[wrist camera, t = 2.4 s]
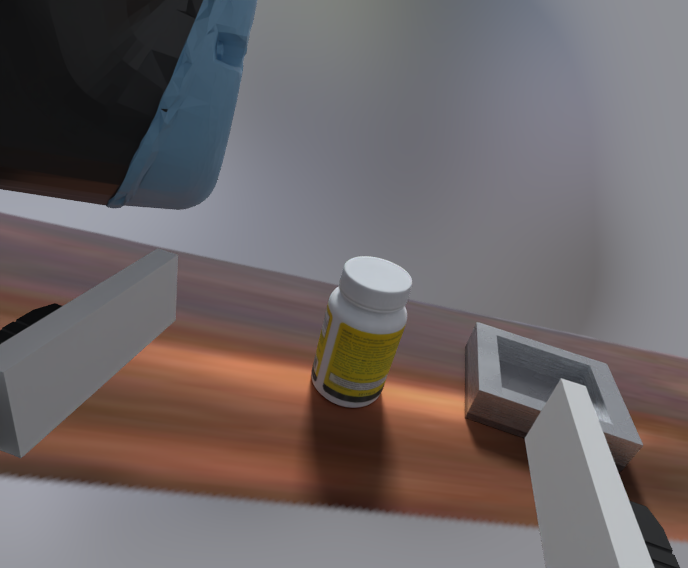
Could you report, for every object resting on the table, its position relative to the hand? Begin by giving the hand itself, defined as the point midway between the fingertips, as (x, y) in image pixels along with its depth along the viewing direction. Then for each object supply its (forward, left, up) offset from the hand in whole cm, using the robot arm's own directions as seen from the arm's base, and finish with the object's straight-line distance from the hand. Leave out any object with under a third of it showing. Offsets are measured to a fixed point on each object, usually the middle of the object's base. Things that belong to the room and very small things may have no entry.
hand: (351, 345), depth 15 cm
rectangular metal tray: (+13, +15, -11) cm, 22 cm away
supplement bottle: (0, +10, -11) cm, 15 cm away
